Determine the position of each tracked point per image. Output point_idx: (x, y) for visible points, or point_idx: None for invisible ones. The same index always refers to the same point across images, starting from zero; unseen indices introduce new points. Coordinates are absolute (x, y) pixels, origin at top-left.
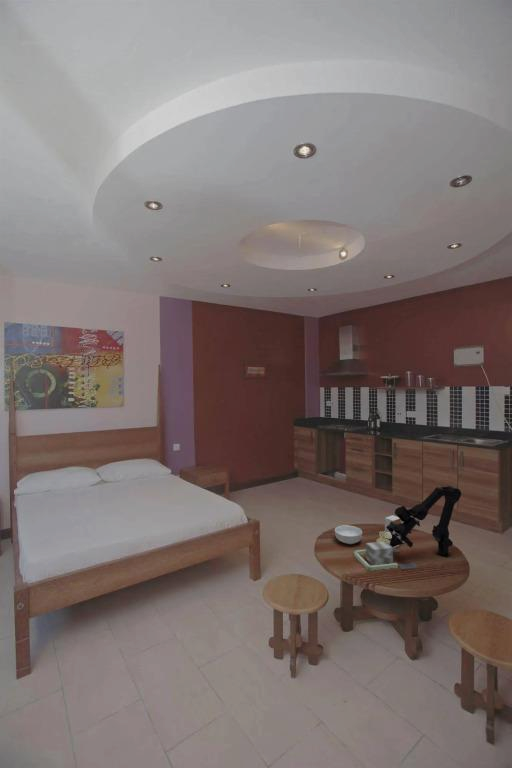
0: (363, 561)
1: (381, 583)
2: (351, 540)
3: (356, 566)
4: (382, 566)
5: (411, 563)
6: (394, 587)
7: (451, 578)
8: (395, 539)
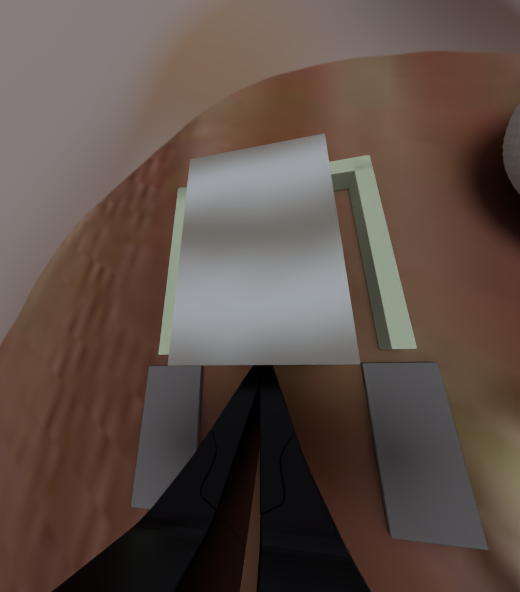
0: None
1: (102, 220)
2: (516, 135)
3: None
4: (172, 256)
5: None
6: (64, 255)
7: None
8: (154, 525)
